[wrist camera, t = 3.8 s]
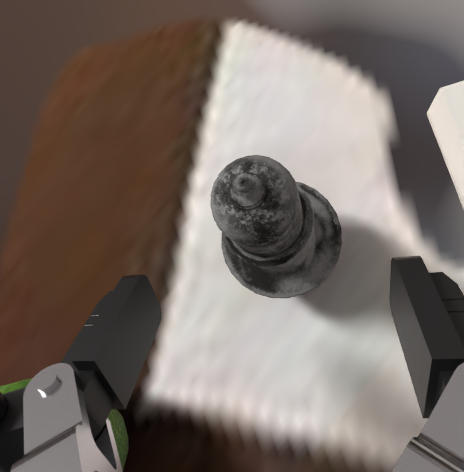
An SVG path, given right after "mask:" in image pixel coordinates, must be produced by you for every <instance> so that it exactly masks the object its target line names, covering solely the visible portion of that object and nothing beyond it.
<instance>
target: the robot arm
mask: <svg viewBox="0 0 464 472" xmlns="http://www.w3.org/2000/svg"><path fill="white" fill-rule="evenodd" d="M390 306H391V312H392V316H393V320H394V323H395V326H396V330H397V333H398V336H399V340H400V343H401V346H402V350H403V353H404V356H405V360H406V363H407V366H408V370H409V373H410V376H411V380H412V383H413V386H414V390H415V393H416V396H417V400H418V403H419V406H420V410H421V413H422V416H423V418H429V419H428V420H427V422H426V424H425V426H424V428H423V429H422V431H421V433H420V434H419V436H418V437H417V438H416V437H414V438H412V439H411V441H410V442H409V443H408V445H407V446H406V448H405V450H404V451H403V453H402V455H401V457H400V459H399V460H398V462H397V464H396V466H395V467H394V469H393V471H392V472H464V295H463V293H462V292H461V290H460V288H459V286H458V284H457V283H455V282H454V281H453V280H452V279H450V278H449V277H448V276H447V275H445V274H444V273H443V272H436V273H429V272H428V270H427V268H426V266H425V264H424V262H423V260H422V258H421V257H420V256H411V257H397V258H392V260H391V277H390ZM160 321H161V308H160V304H159V302H158V300H157V297H156V295H155V293H154V291H153V288H152V286H151V284H150V281H149V279H148V277H147V276H146V275H131V276H123V277H122V278H121V279H120V281H119V282H118V284H117V286H116V287H115V289H114V291H110V292H109V293H108V294H107V295H106V296H105V297H103V298H102V299H101V300H100V301H99V302H98V304H97V305H96V307H95V308H94V310H93V312H92V313H91V316H89V318H88V320H87V321H86V323H85V326H83V328H82V329H81V331H80V332H79V334H78V336H77V337H76V339H75V340H74V342H73V344H72V345H71V347H70V348H69V350H68V352H67V353H66V355H65V356H64V358H63V360H62V361H61V363H58V364H54V365H51V366H49V367H47V368H45V369H43V370H42V371H41V372H39V373H38V374H37V375H36V376H35V377H34V378H33V379H32V380H31V381H30V382H29V384H28V385H27V387H25V388H21V389H18V390H15V391H11V392H8V393H5V394H2V393H1V392H0V472H123V470H122V466H121V462H120V458H119V455H118V451H117V447H116V443H115V439H114V435H113V431H112V427H111V423H110V421H109V419H108V415H109V413H110V411H111V409H126V407H127V404H128V402H129V399H130V397H131V394H132V392H133V389H134V387H135V384H136V382H137V379H138V377H139V374H140V372H141V369H142V367H143V364H144V362H145V360H146V357H147V355H148V352H149V350H150V347H151V345H152V342H153V340H154V337H155V335H156V332H157V330H158V327H159V325H160Z"/></svg>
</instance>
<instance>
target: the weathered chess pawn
mask: <svg viewBox="0 0 464 472" xmlns="http://www.w3.org/2000/svg"><path fill="white" fill-rule="evenodd" d="M211 209H212V214H213V217H214V220H215V222H216V223H217V225H218V227H219V229H220V230H221V231H222V250H223V254H224V259H225V262H226V264H227V265H228V267H229V269H230V271H231V273H232V274H233V276H234V277H235V278H236V279H237V280H238V281H239V282H240V283H241V284H242V285H243V286H245V287H246V288H248V289H250V290H251V291H253V292H254V293H256V294H260V295H263V296H267V297H270V298H290V297H294V296H298V295H302V294H305V293H306V292H308V291H310V290H312V289H314V288H315V287H317V286H318V285H319V284H320V283H321V282H322V281H324V280H325V279H326V278H327V277H328V276H329V275H330V273H331V271H332V269H333V268H334V266H335V264H336V262H337V261H338V257H339V253H340V249H341V245H342V238H341V226H340V223H339V220H338V217H337V214H336V212H335V210H334V209H333V207H332V206H331V204H330V203H329V201H328V200H327V199H326V198H325V197H324V196H323V195H321V194H320V193H319V192H318V191H317V190H315V189H313V188H311V187H309V186H307V185H305V184H303V183H299V182H295V180H294V178H293V177H292V175H291V174H290V172H289V171H288V170H287V169H286V168H285V167H284V166H282V165H281V164H280V163H279V162H277V161H275V160H273V159H271V158H269V157H265V156H259V155H254V156H245V157H243V158H240V159H237V160H235V161H233V162H232V163H230V164H229V165H227V166H226V167H225V168H224V169H223V170H222V171H221V173H220V174H219V175H218V177H217V179H216V181H215V182H214V185H213V188H212V192H211Z"/></svg>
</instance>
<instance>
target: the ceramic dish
mask: <svg viewBox="0 0 464 472" xmlns="http://www.w3.org/2000/svg"><path fill="white" fill-rule="evenodd" d="M427 116H428V118H429V121H430V124H431V126H432V129H433V131H434V134H435V137H436V139H437V142H438V144H439V147H440V150H441V152H442V155H443V157H444V160H445V162H446V165H447V168H448V170H449V172H450V175H451V178H452V180H453V183H454V186H455V188H456V191H457V194H458V196H459V199H460V201H461V204H462V206H463V209H464V81H461V82H458V83H455V84H452V85H448V86H446V87H442V88H440V89H439V91H438V93H437V95H436V97H435V99H434V101H433V103H432V104H431V107H430V108H429V110H428V112H427Z"/></svg>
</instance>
